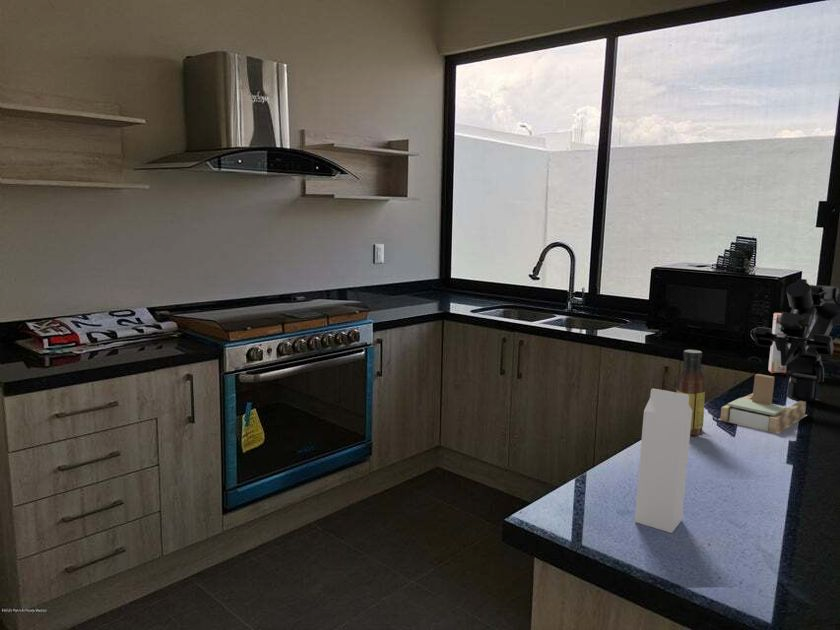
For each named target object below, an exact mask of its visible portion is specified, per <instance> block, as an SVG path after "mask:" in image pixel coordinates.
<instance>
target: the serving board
mask: <svg viewBox="0 0 840 630" xmlns="http://www.w3.org/2000/svg"><path fill="white" fill-rule="evenodd" d="M742 398H746V399H751V400H752V398H753V392H752V393H749V394H747V395H746V396H742ZM806 407H807V401H797V402H795V403H794V404H792V405H790V406H787V407H786V410H784V411H782V412H780V413H778V414H777V415H775V416H772V417H770V422H769V430H765V429H761V428H757V427H752V426H748V425H744V424H739V423H735V422H731V421H729V418H730V409H731V408H733V407H731V406H728V403H727V404H725V405H723V406H721V408H720V409H721V410H720V416H719V417H720V418H717V420H718V421H720V422H721V421H722V422H725V423H730V424H733V425H740V426H741V427H742V426H743V427H748V428H751V429H755V430H760V431H765V432H769V433H773V434H778V435H779V434H780V433H782V432H783V431H785V430H786V429H788V428H790V427H792V426H793V425H794V424H796V423H798V422H800V421H801V420H803V419H804V418H805V417H807V416H808V414H805V413H806Z"/></svg>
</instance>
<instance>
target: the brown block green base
mask: <svg viewBox="0 0 840 630" xmlns="http://www.w3.org/2000/svg"><path fill="white" fill-rule="evenodd" d="M753 382H754V383H753V390H752V393H753V398H752V400H751V399H746V398H743V397H739V398H737V399H735V400H733V401H732V400H731V402H727V404H728V406H731V407H736V408H740V409H745V410H750V411H754V412H759V413H764V414H768V415H773V416H775V415H777V414H778V413H780V412H782V411H784V410H786V408H787V406H784V405H779V404H775V403H773V397H774V395H773V394H774V387H775V376H772V375H767V374H760V373H756V374H754V381H753Z"/></svg>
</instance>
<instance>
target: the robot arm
mask: <svg viewBox="0 0 840 630" xmlns="http://www.w3.org/2000/svg"><path fill="white" fill-rule="evenodd" d="M785 291H786V295H787V300H788V305H789V308H792V309H791V310H790V312H781V313H782V314H781V318H780V322H779V324H781V328H780V330H781V332H783V333H777V334H772V328H771V327H770V328H769V327H762V326H757V327H755V328H754V330H753V332H752V336H753V338H754V342H755V345H756V346H758V347H764V348H770V347H771V346H772V344H773V342H775V344H776V348H777V350H778V351H780V352H781V365H782V366H786V375H785V376H786V377H787V378H789V377H790V381H788V387H787V393H785V396H786V397H789V398H791V399H793V400H795V401H797V402H799V401H804V402H820V399H818V398H817V392H818V385H819V382H824V380H825V369H824V365H823V361H822V356H825V357H826V356H827V357H830V356H832V355H833V353H834V350H835V349H834V341H833V337H832V336H831V335H830V333H831V331H832V329H833V328H835V327H838V326H840V289H839V287H838V286H833V285H815V284H809V283H808V281H807V279H806V278H798V279H797V281H794V282H792V283H789V285H787V286H786V289H785ZM829 300H833V301H829ZM814 317H815V324H814V326H813V328H812V329H811V331H810V327H811V324H812V322H813V319H814ZM808 334H809V335H808ZM807 335H808V337H807ZM806 337H807V338H806ZM789 344H791V346H790V348H788V345H789Z"/></svg>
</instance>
